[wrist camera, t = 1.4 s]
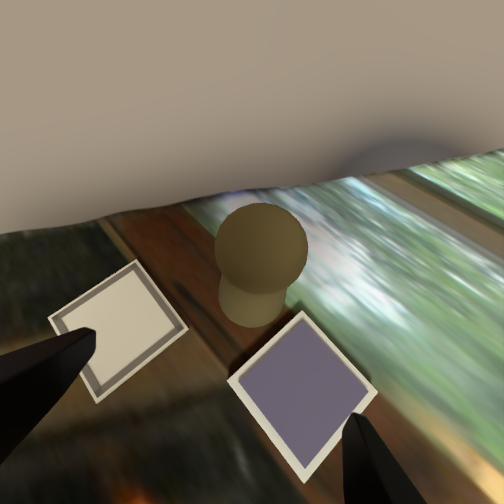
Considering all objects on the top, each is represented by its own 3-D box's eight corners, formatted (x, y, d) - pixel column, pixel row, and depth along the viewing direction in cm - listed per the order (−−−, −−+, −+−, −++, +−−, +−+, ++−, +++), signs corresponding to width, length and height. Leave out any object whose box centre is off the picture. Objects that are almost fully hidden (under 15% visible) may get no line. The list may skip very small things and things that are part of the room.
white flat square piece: (98, 403, 19) (95, 403, 19) (50, 318, 21) (46, 317, 21) (189, 329, 21) (188, 328, 21) (137, 260, 24) (135, 258, 23)
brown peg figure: (211, 268, 24) (194, 195, 14) (274, 255, 25) (301, 177, 15) (225, 335, 21) (216, 306, 11) (294, 318, 22) (342, 276, 12)
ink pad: (300, 478, 18) (305, 485, 17) (227, 380, 20) (226, 380, 19) (371, 391, 20) (380, 392, 19) (299, 312, 23) (303, 309, 21)
